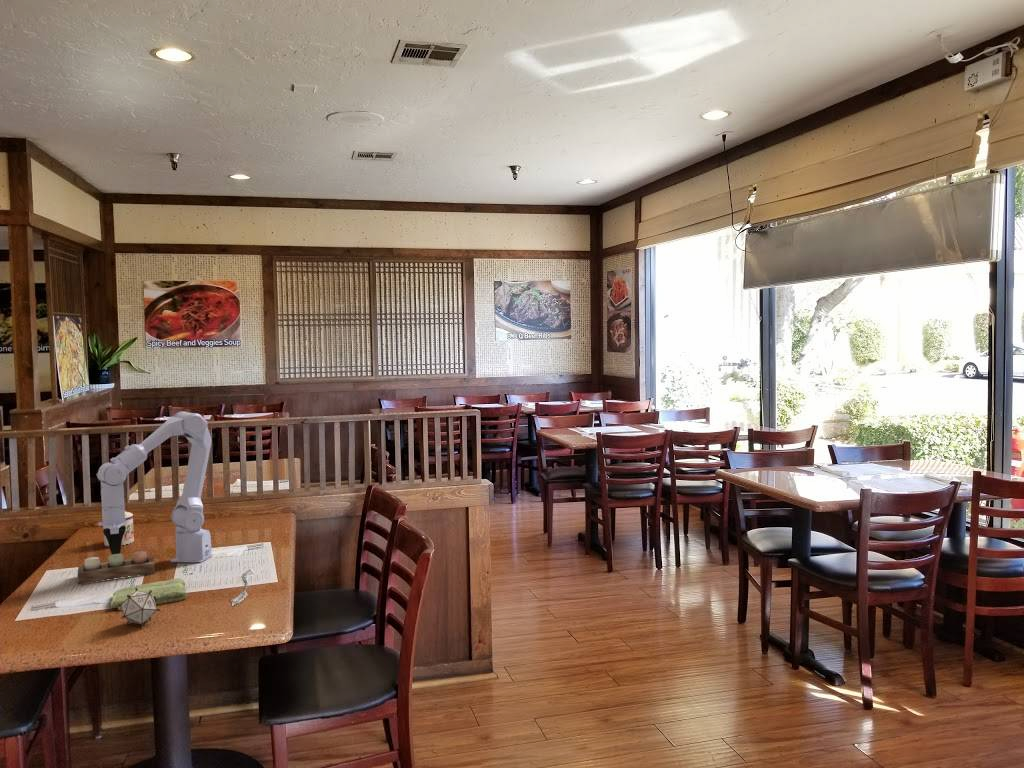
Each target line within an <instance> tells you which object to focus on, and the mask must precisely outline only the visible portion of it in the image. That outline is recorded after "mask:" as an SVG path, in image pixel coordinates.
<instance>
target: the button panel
mask: <svg viewBox="0 0 1024 768" xmlns="http://www.w3.org/2000/svg"><path fill="white" fill-rule="evenodd" d="M123 563H124V564H123V565H120V566H114V567H112V566H109V561H106V562H99V565H100V567H99V568H97V569H93V570H86V569H85V564H83V565H78V567H77V584H79V585H85V584H84V583H86V584H92V583H91V582H93V583H97V582H96V581H100V582H103V581H102V580H107V579H114V578H121V577H128V576H135V577H138V576H137V575H142V576H148V575H147V574H149V575H153V574H156V573H155V561H154V556H153V555H151V556H150V555H149V556H147V561H146V562H143V563H133V558H126V559H123ZM145 574H146V575H145ZM128 578H129V577H128ZM121 579H122V578H121ZM114 580H115V579H114ZM107 581H108V580H107Z"/></svg>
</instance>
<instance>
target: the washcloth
mask: <svg viewBox="0 0 1024 768" xmlns="http://www.w3.org/2000/svg"><path fill="white" fill-rule="evenodd" d="M135 588H138V590H137V591H141V592H147V593H149V592H150V591H151V590H152V592H151V593H150V594H151V595H152V597H153V598H154V597H156V599H154V600H155V603H156V604H158V605H161V604H160V603H164V604H167V602H169V603H174V601H175V602H181V601H184V600H185V599H187V597H188V592H187V589H186V582H185V580H184V579H182V578H180V577H175V578H171V579H168V580H161V581H155V582H148V583H143V584H138V585H131V586H127V587H126V586H125V587H122V588H119V589H117V590H116V591H114V592H113V594H112V596H111V599H110V600H111V602H110V608H111V609H113V608H114V609H115V608H117V610H121V609H122V607H121V606H118V605H117V604H122V603H123V602H124V601H125V600H126V599H127V598H128V597H127V595H130V596H131V595H132V594H133V593H134V592H135V591H136V590H135ZM183 599H184V600H183Z"/></svg>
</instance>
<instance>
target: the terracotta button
mask: <svg viewBox="0 0 1024 768" xmlns="http://www.w3.org/2000/svg"><path fill="white" fill-rule="evenodd" d="M147 554H148V553H147V551H146V550H138V551H135V552H132V559H133V563H143V562H146V561H147V557H148V556H147Z"/></svg>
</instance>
